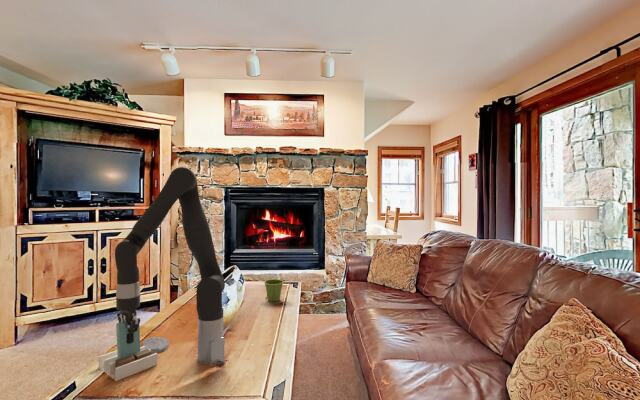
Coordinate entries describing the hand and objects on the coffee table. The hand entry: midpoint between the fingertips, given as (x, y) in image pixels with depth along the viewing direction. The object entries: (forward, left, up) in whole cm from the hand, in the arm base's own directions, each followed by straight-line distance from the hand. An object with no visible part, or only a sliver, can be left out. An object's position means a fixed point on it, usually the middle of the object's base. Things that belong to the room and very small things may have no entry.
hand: (128, 342), depth 124 cm
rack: (0, 0, -10) cm, 10 cm away
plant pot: (+17, -92, -10) cm, 94 cm away
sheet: (0, 0, -6) cm, 6 cm away
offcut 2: (-4, -3, -9) cm, 10 cm away
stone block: (+7, -14, -11) cm, 19 cm away
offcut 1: (-4, +3, -9) cm, 10 cm away
